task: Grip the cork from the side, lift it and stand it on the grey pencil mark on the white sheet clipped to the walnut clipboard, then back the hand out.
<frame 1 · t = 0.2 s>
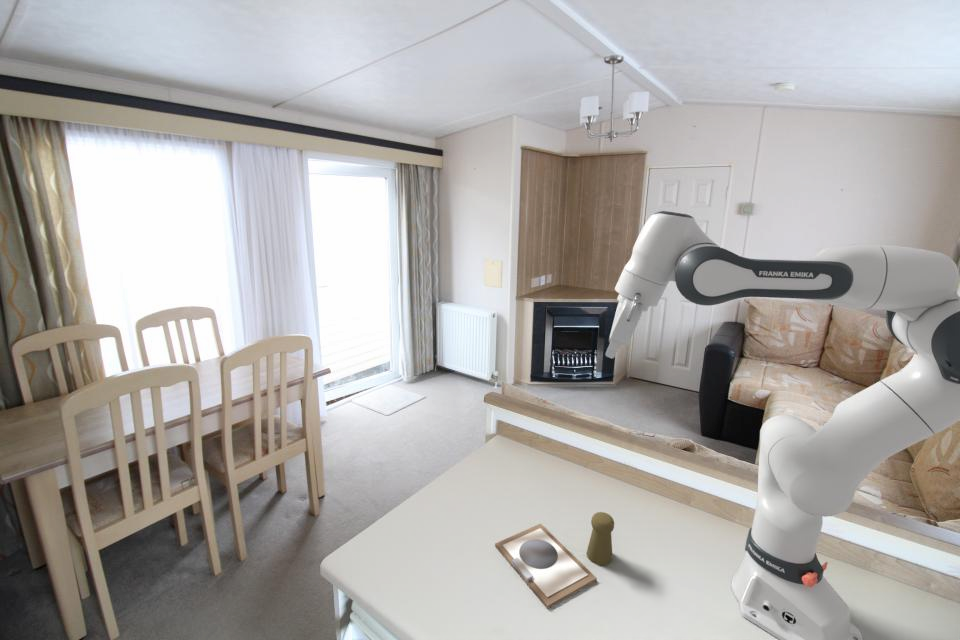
hand: (610, 349, 95), 52 cm above the kitchen counter, tool tilted 20°, fingers open, 8 cm apart
cork: (599, 556, 107), on the kitchen counter
clipboard: (543, 562, 105), on the kitchen counter
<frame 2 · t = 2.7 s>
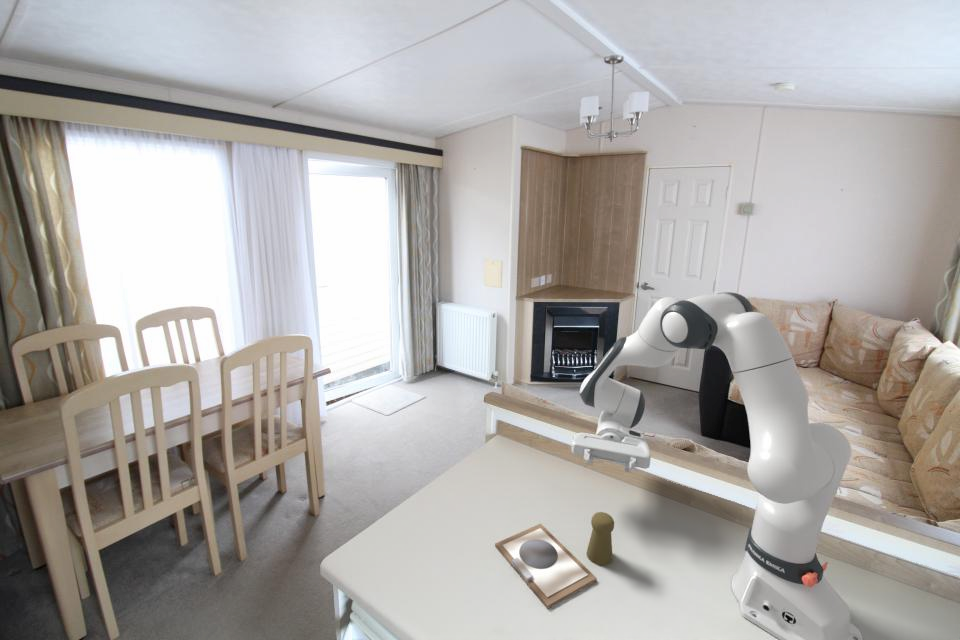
hand: (608, 466, 114), 17 cm above the kitchen counter, tool horizontal, fingers open, 8 cm apart
nothing on the kitchen counter moved.
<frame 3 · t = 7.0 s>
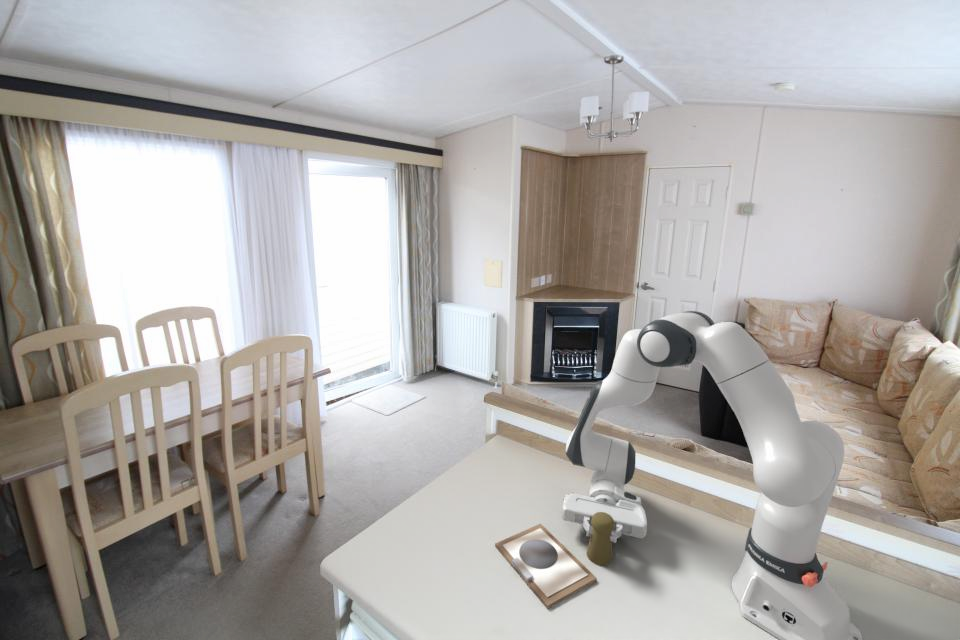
hand: (601, 537, 105), 6 cm above the kitchen counter, tool horizontal, fingers closed on cork, 4 cm apart
cork: (599, 556, 107), on the kitchen counter, touching gripper
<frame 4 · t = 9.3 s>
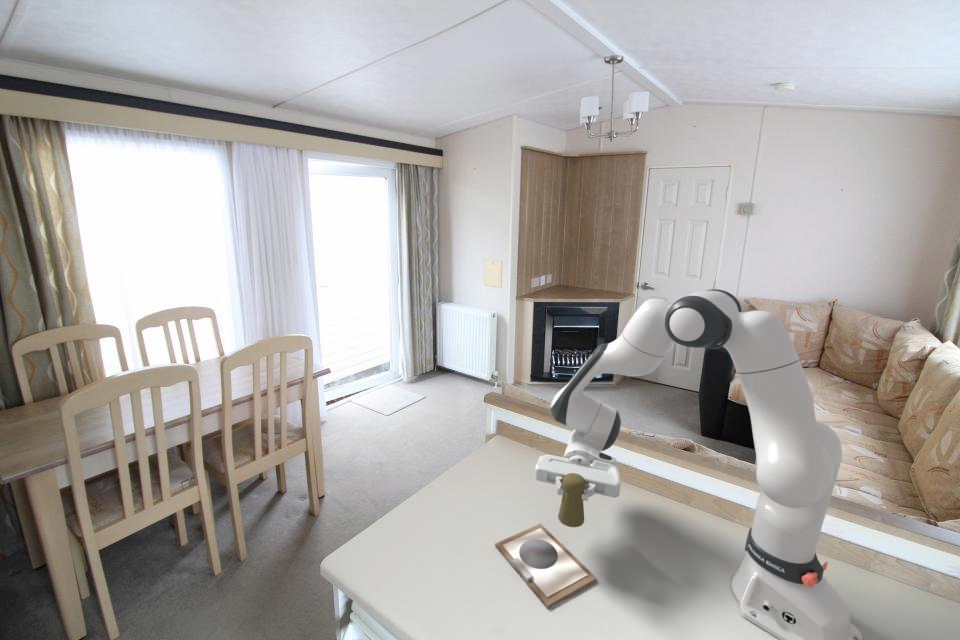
hand: (572, 495, 102), 17 cm above the kitchen counter, tool horizontal, fingers closed on cork, 4 cm apart
cork: (571, 518, 105), point 10 cm above the kitchen counter, touching gripper
when the fingers open (8 cm above the kitchen counter, at t = 11.9 s): cork moves 2 cm, resting on clipboard.
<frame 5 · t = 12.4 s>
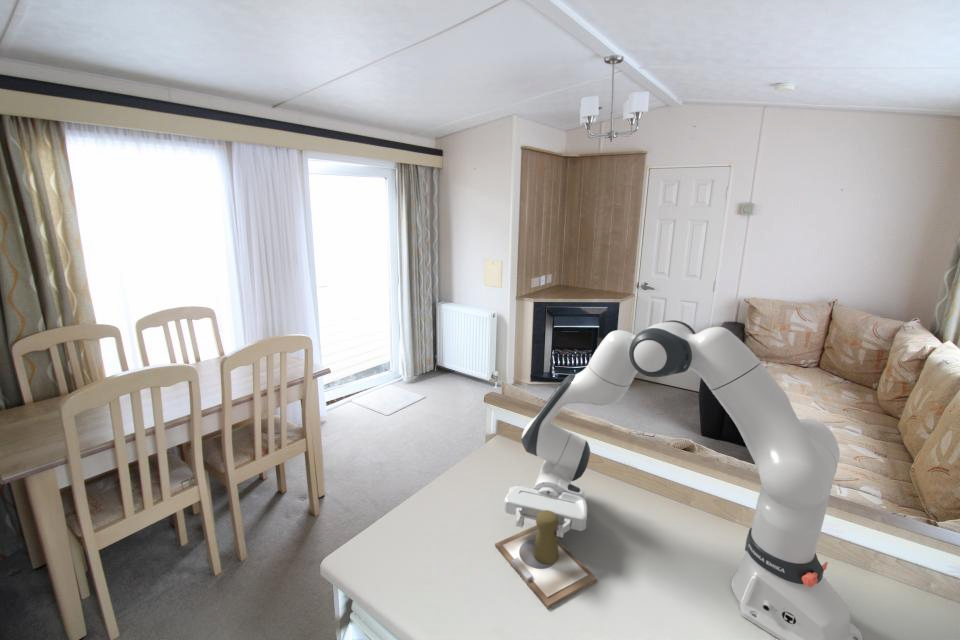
hand: (539, 529, 104), 8 cm above the kitchen counter, tool horizontal, fingers open, 8 cm apart
cork: (545, 555, 106), point 1 cm above the kitchen counter, touching clipboard, gripper
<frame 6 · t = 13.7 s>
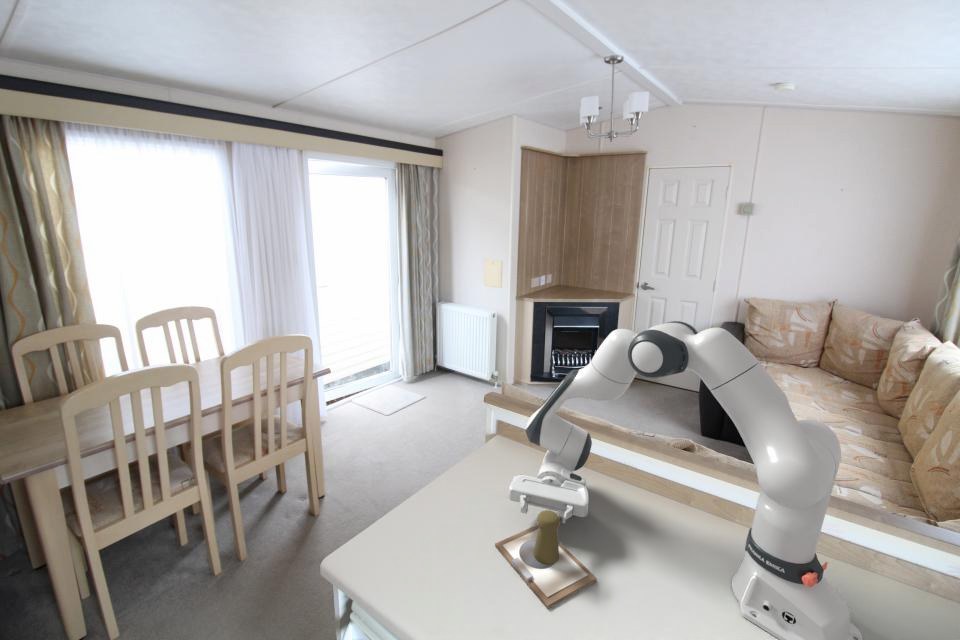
hand: (542, 515, 108), 9 cm above the kitchen counter, tool horizontal, fingers open, 8 cm apart
cork: (546, 555, 106), point 1 cm above the kitchen counter, touching clipboard
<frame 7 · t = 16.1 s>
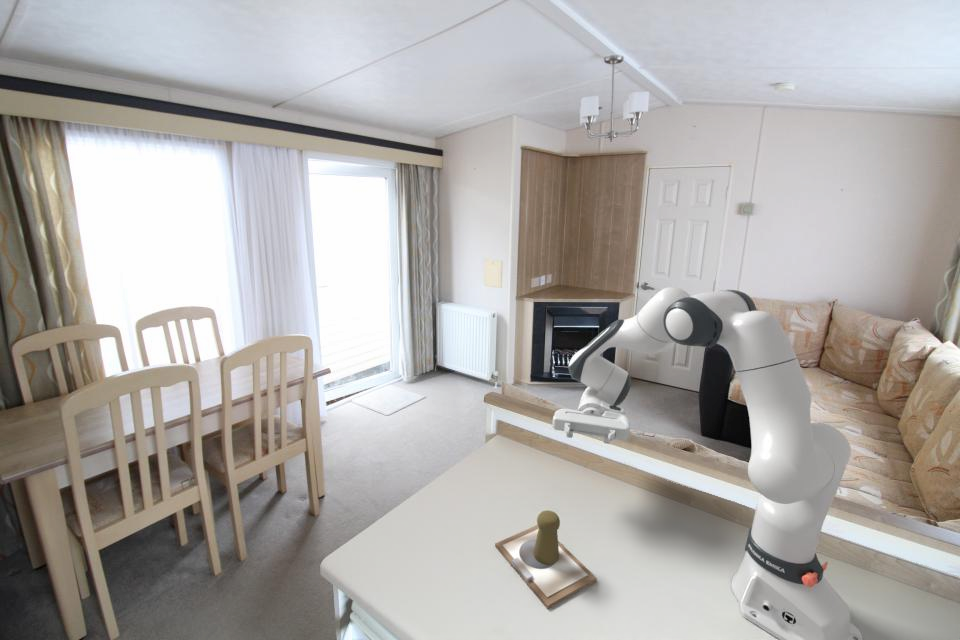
hand: (587, 438, 115), 23 cm above the kitchen counter, tool horizontal, fingers open, 8 cm apart
nothing on the kitchen counter moved.
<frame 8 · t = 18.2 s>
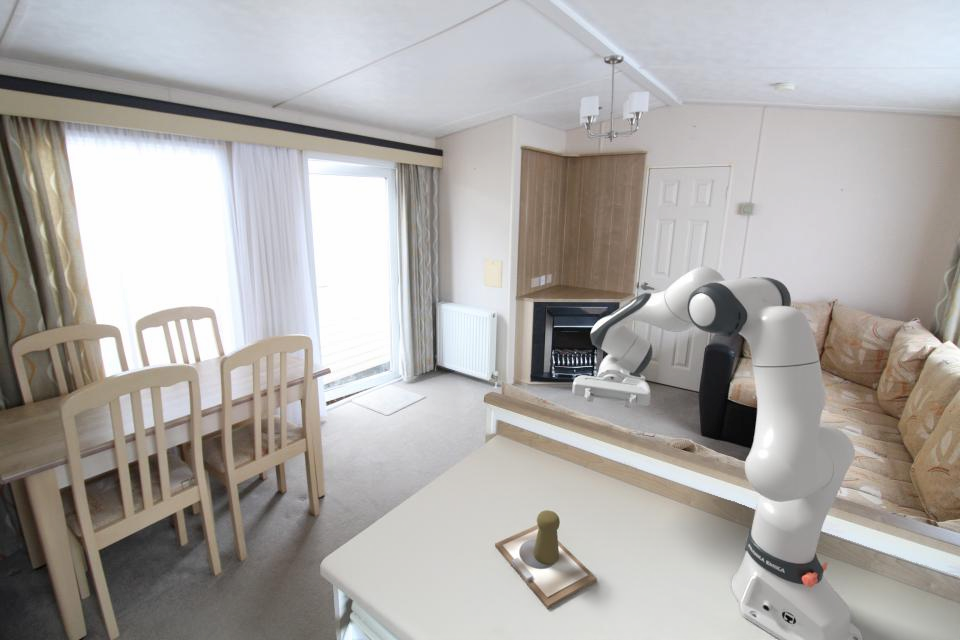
hand: (608, 402, 115), 32 cm above the kitchen counter, tool horizontal, fingers open, 8 cm apart
nothing on the kitchen counter moved.
at the end: cork inside the target area on the clipboard (1.8 cm from its centre), point 0.9 cm above the clipboard's base; cork tilted 0°; the gripper is holding nothing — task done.
